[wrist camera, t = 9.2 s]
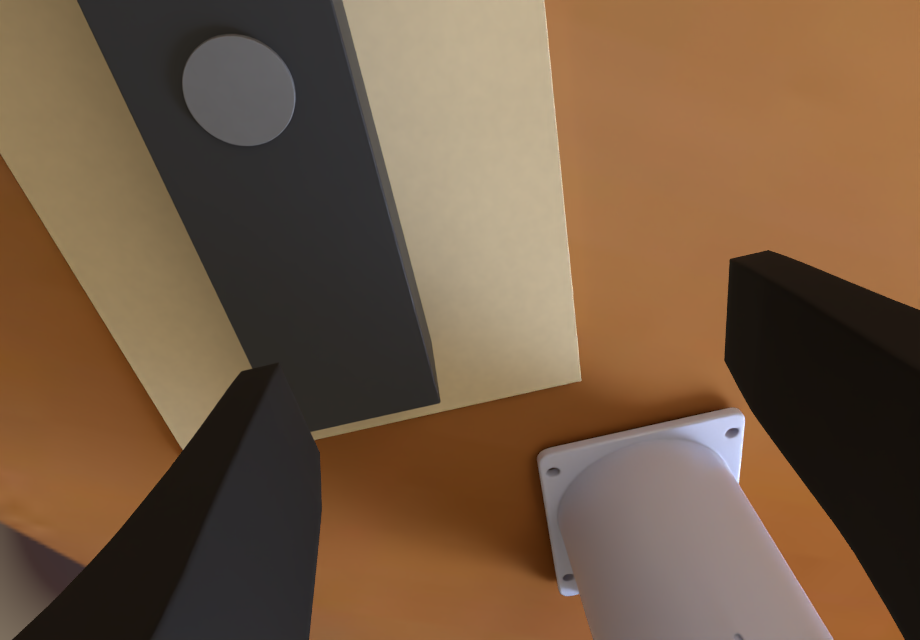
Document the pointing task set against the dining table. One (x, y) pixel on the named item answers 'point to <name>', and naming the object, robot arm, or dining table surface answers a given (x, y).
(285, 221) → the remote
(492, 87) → the placemat
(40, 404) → the dining table surface
